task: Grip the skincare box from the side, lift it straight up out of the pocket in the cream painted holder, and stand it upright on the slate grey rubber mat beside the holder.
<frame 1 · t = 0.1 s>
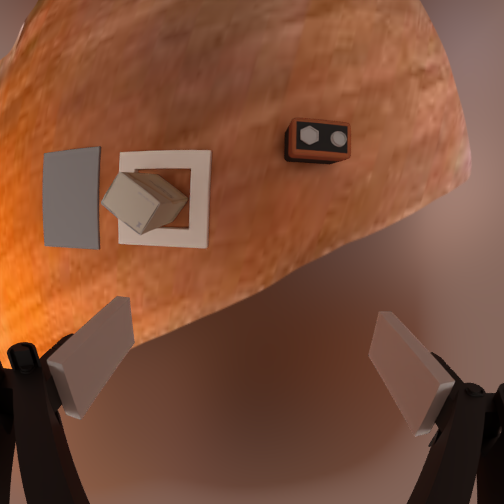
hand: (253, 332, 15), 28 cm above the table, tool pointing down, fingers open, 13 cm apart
skincare box: (164, 197, 41), resting in pocket holder
battery: (308, 148, 39), on the table
grey mat: (69, 198, 41), on the table
pocket holder: (163, 197, 41), on the table
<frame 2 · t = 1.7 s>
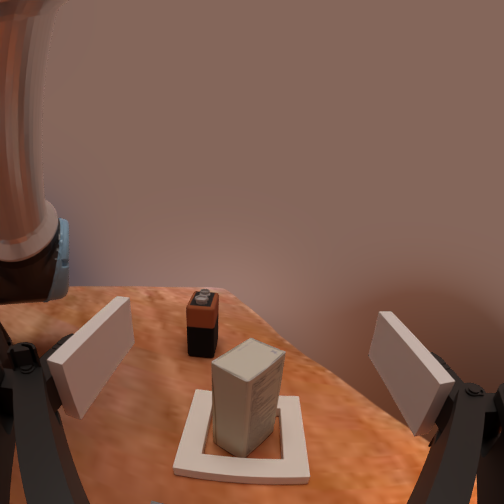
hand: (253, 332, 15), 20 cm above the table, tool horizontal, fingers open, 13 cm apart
skincare box: (243, 439, 29), resting in pocket holder
battery: (203, 348, 49), on the table
pocket holder: (244, 438, 29), on the table
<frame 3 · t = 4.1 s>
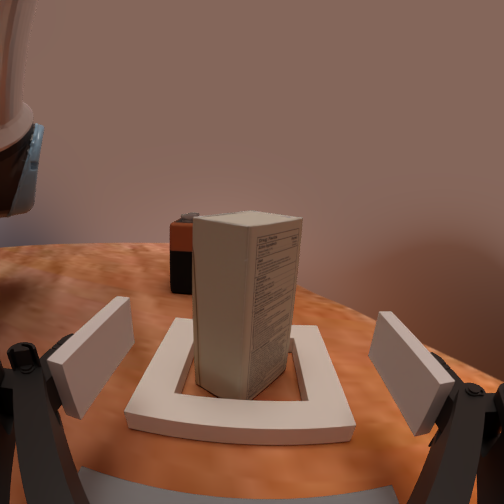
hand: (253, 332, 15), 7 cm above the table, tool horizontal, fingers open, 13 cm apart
skincare box: (242, 381, 21), resting in pocket holder
battery: (190, 287, 40), on the table
pocket holder: (242, 378, 21), on the table
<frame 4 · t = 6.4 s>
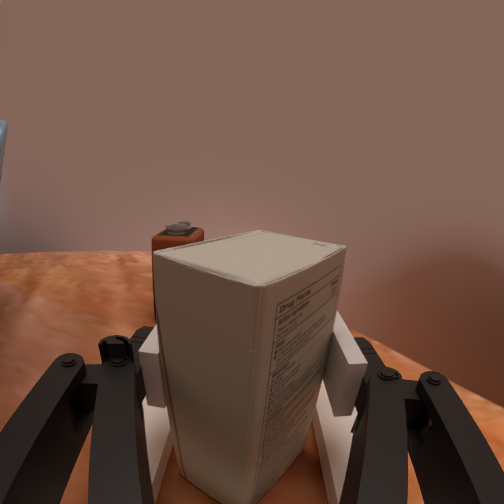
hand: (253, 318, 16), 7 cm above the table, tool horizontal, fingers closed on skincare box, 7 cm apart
skincare box: (244, 468, 13), resting in pocket holder, touching gripper
battery: (180, 313, 32), on the table
pocket holder: (245, 466, 13), on the table
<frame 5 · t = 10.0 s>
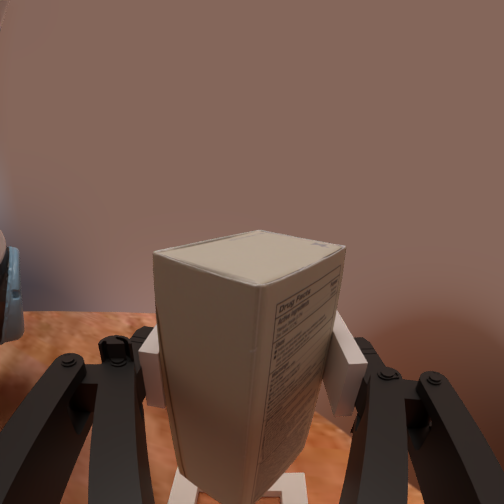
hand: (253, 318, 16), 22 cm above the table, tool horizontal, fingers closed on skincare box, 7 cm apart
skincare box: (244, 467, 13), point 15 cm above the table, touching gripper
when the fingers open (8 cm above the table, at t = 13.8 s): skincare box stays where it is, resting on grey mat.
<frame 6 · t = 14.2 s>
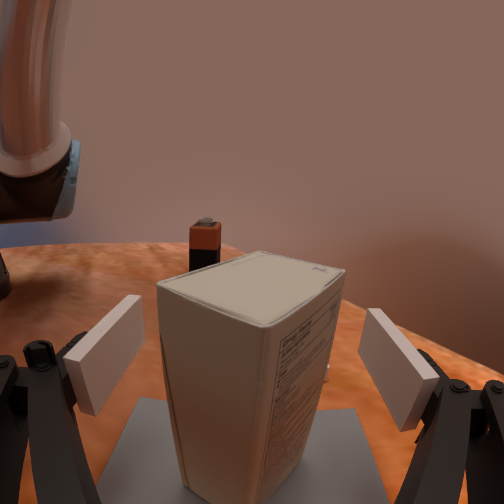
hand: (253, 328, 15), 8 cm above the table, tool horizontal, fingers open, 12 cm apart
skincare box: (245, 477, 13), resting on grey mat
battery: (205, 279, 49), on the table
grey mat: (244, 478, 13), on the table
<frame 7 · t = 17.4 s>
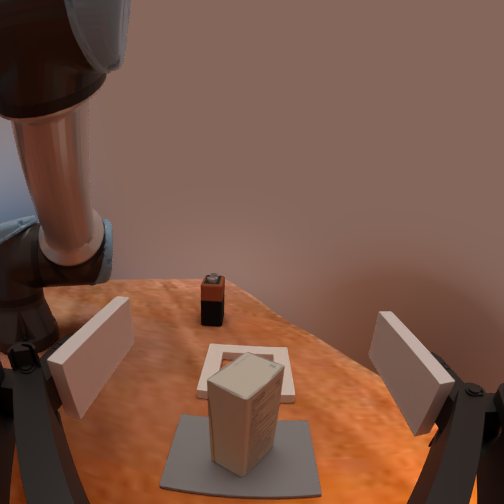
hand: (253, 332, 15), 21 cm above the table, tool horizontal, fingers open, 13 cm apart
skincare box: (243, 455, 27), resting on grey mat
battery: (213, 320, 63), on the table
grey mat: (242, 456, 27), on the table
pocket holder: (247, 374, 44), on the table
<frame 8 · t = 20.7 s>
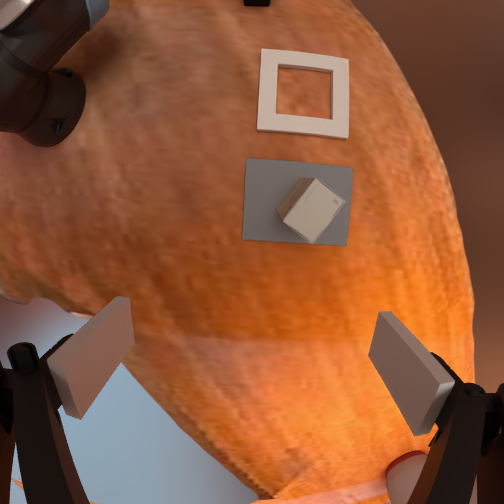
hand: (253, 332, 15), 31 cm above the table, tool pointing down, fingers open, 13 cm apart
citrus juicer: (404, 464, 58), on the table
skincare box: (299, 202, 43), resting on grey mat
grey mat: (298, 202, 43), on the table
pocket holder: (303, 93, 40), on the table
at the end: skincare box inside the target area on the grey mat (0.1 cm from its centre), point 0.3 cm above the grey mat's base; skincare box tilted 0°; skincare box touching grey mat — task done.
